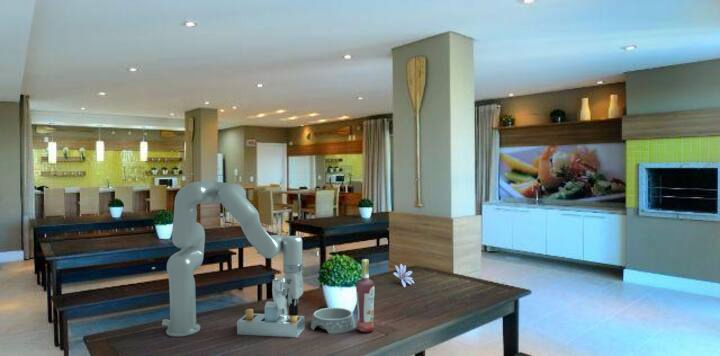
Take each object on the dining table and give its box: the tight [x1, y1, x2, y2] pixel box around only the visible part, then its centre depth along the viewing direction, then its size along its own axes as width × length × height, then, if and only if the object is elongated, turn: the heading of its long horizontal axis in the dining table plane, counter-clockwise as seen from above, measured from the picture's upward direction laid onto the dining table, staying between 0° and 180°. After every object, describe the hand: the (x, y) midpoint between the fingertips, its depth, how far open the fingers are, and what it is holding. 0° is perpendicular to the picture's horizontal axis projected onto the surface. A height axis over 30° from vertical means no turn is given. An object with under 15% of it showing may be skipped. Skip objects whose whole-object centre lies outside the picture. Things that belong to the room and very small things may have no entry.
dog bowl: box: [310, 307, 357, 335], centre depth 192 cm, size 17×18×5 cm
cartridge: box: [264, 300, 278, 322], centre depth 186 cm, size 5×5×12 cm
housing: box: [236, 312, 306, 338], centre depth 186 cm, size 24×10×5 cm, turn 81°
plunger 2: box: [288, 314, 298, 323], centre depth 184 cm, size 3×3×5 cm
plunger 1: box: [245, 308, 254, 321], centre depth 187 cm, size 3×3×5 cm
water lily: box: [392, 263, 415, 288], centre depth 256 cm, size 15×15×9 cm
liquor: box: [355, 258, 376, 333], centre depth 185 cm, size 7×7×28 cm
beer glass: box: [271, 277, 289, 315], centre depth 207 cm, size 7×7×15 cm
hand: (293, 314), depth 184 cm, fingers closed
